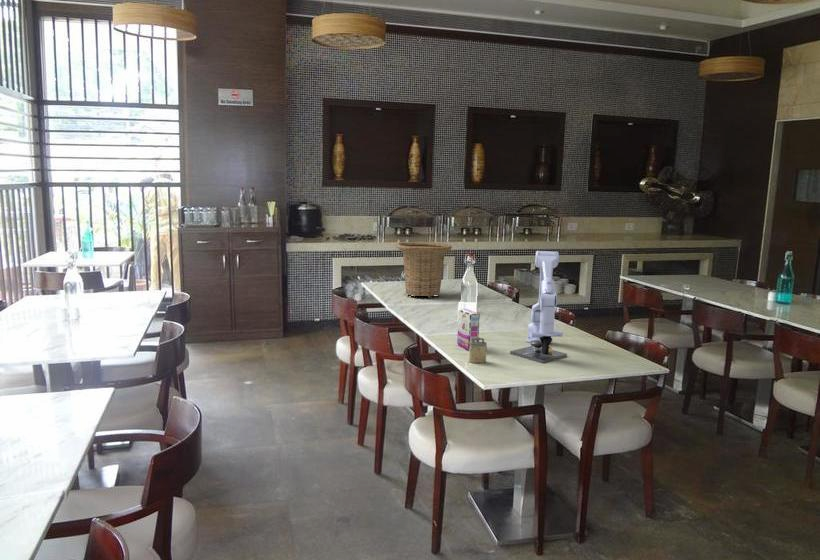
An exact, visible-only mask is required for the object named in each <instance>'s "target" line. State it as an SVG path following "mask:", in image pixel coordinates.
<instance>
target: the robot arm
mask: <svg viewBox="0 0 820 560" xmlns="http://www.w3.org/2000/svg"><path fill="white" fill-rule="evenodd" d="M534 258H535V260H534V261H535V262H534V263H535V264H534V265H535V268H538V269H539V289H538V302H537V303H535V304H533V305H532V306H531V311H530V323H528V327H527V336H526V340H525V341H526V342H528V343H531V341H533V340H539V341H541V342H542V354H544V355H546V354H548V348H549V346H551V345H550V344H553V337H555V338H557V337H558V338H559V337H561V338H563V335H564V331H562V330H561V331H558V330H554V329H555V327H554V326H555V313H556V308H557V305H558V295H557V292H556V282H555V280H554V279H553V273H554V272H553V271H554V269H555V268H557V267H558V265H559V260H560V253H559V252H558V251H551V250H550V251H548V250H547V251H545V250H536V251H535V256H534Z"/></svg>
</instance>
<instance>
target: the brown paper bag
mask: <svg viewBox="0 0 820 560" xmlns="http://www.w3.org/2000/svg"><path fill="white" fill-rule="evenodd" d="M475 340H477V342H474V341H475ZM487 346H488V345H487V342H485V338H483V337H477V338H472V342H470V350H469V351H468V352H469V354H468V355H469V356H468V362H469V363H472V364H480V363H481V364H482V363H483V364H484V363H487V348H488V347H487Z"/></svg>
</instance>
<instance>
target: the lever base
mask: <svg viewBox="0 0 820 560" xmlns="http://www.w3.org/2000/svg"><path fill="white" fill-rule="evenodd" d="M509 352H510V353H509V354H510V355H512V354H513V355H512V356H516V355H517V356H516V357H519V356H520V358H524V359H526V358H527V359H526V360H531V361H534V362H538V363H541V364H544V363H547V362H551V361H555V359H556V360H558V359H562V358H565V357H566V358H567V357H568V354H567V353H566V352H562V351H560V350H559V351H558V350H554V349H552V355H544V354H542V347H534V346H531V345H530V346H526V347H522V348H518V349H513V350H510V351H509Z"/></svg>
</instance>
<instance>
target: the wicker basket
mask: <svg viewBox="0 0 820 560" xmlns="http://www.w3.org/2000/svg"><path fill="white" fill-rule="evenodd" d="M452 248H453V246H452V245H451V244H448V243H443V242H431V241H429V242H427V241H405V242H404V241H403V242H398V243H397V244H396V249H398V250H400V251H401V253H402V257H403V267H404V268H403V269H404V281H405V282H404V283H405V284H404V285H405V295H406V294H408V295H414V297H415V296H434V295H438V294H439V293H440V292H441V286H442V279H443V269H444V263H445V262H444V261H445V256H446V254H447V252H449V251H451V250H452ZM439 295H440V294H439Z"/></svg>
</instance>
